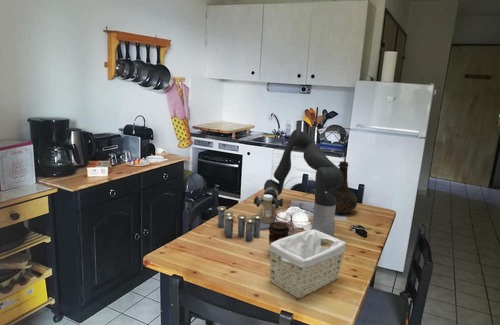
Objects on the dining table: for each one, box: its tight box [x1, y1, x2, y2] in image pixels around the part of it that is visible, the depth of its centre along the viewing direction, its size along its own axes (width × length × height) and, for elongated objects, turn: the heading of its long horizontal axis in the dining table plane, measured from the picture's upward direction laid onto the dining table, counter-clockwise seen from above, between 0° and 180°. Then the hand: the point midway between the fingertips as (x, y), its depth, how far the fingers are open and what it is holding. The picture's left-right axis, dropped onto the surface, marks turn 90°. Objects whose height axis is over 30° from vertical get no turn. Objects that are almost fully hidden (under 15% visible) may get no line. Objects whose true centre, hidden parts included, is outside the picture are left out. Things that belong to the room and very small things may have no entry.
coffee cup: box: [268, 221, 290, 256], centre depth 147 cm, size 9×8×13 cm
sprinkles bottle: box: [261, 194, 273, 223], centre depth 178 cm, size 5×5×14 cm
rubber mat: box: [252, 215, 276, 231], centre depth 179 cm, size 13×13×1 cm
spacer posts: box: [216, 205, 262, 243], centre depth 166 cm, size 21×16×10 cm
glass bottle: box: [325, 161, 358, 215], centre depth 200 cm, size 18×18×28 cm
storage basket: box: [269, 229, 347, 299], centre depth 128 cm, size 24×16×15 cm
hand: (267, 206), depth 176 cm, fingers open, 8 cm apart
